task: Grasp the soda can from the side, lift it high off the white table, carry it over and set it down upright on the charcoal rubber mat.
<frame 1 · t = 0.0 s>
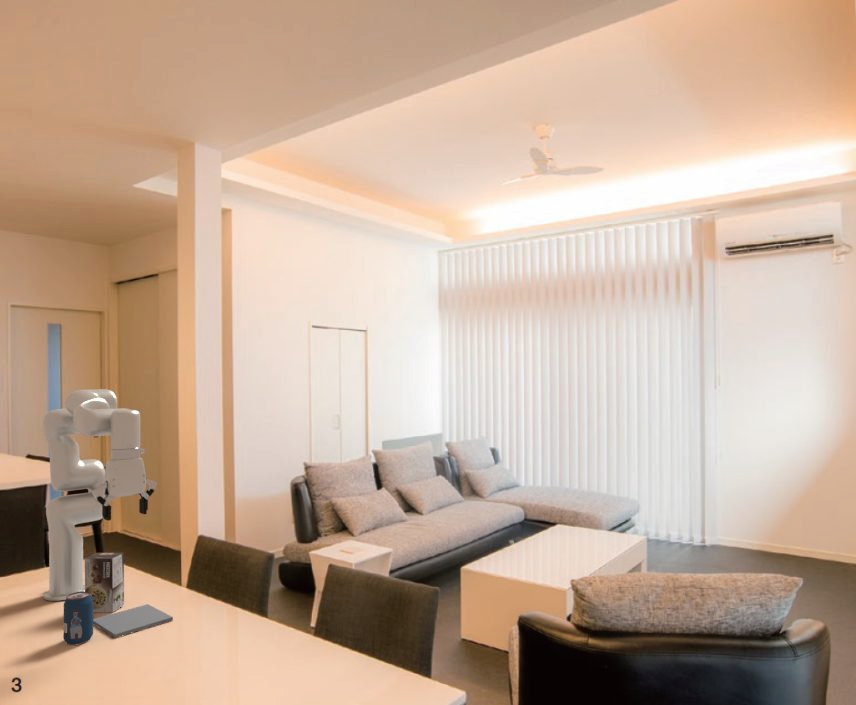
hand: (125, 516, 178), 31 cm above the table, tool pointing down, fingers open, 9 cm apart
mat: (132, 621, 183), on the table
soda can: (78, 641, 171), on the table
coffee box: (104, 609, 194), on the table
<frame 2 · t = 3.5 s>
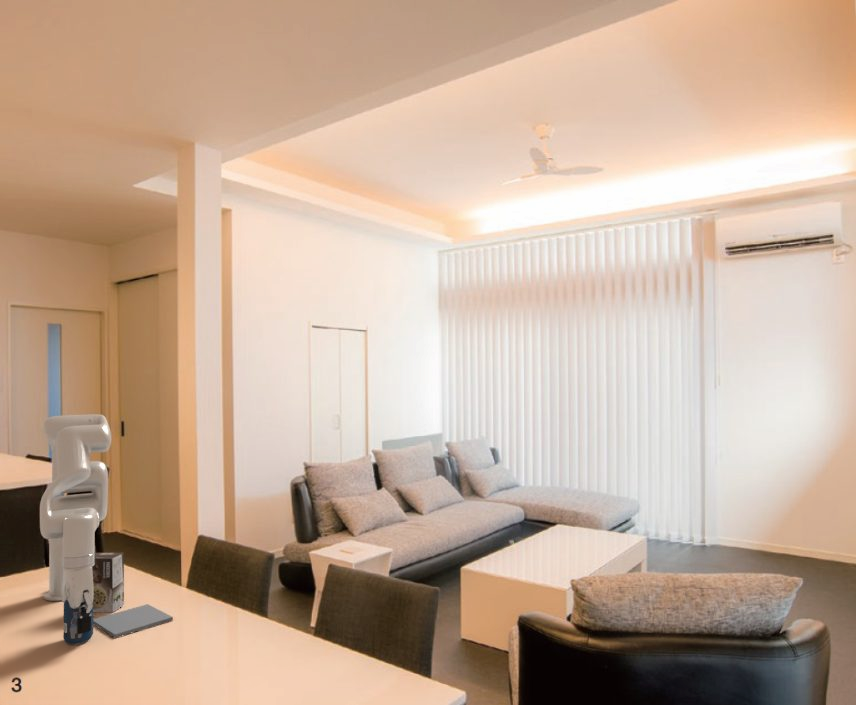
hand: (78, 628, 171), 3 cm above the table, tool pointing down, fingers closed on soda can, 6 cm apart
soda can: (78, 641, 171), on the table, touching gripper
everything else where it was.
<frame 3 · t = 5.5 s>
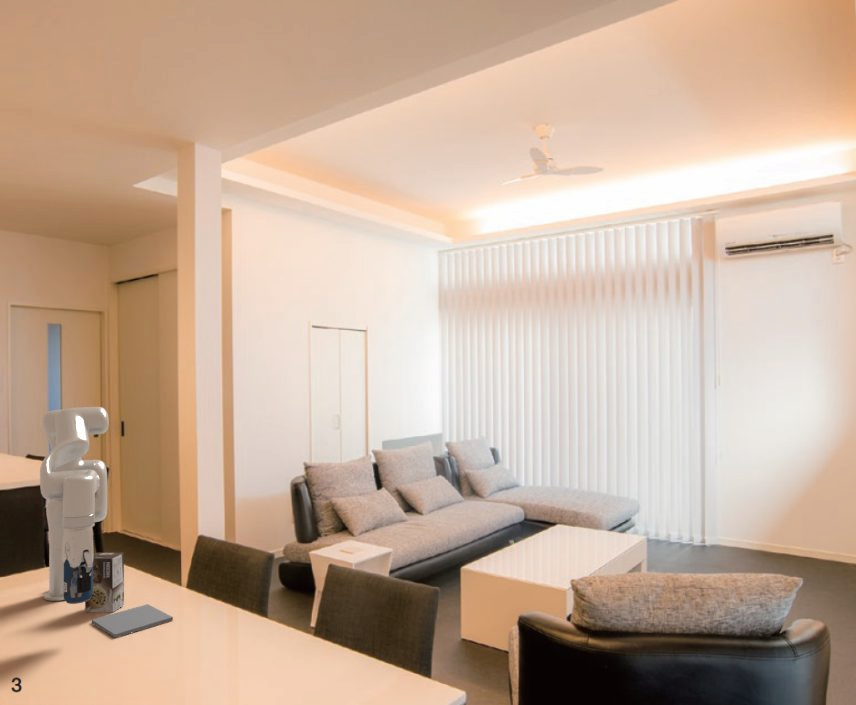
hand: (78, 587, 172), 14 cm above the table, tool pointing down, fingers closed on soda can, 6 cm apart
soda can: (78, 600, 171), point 10 cm above the table, touching gripper
everything else where it was.
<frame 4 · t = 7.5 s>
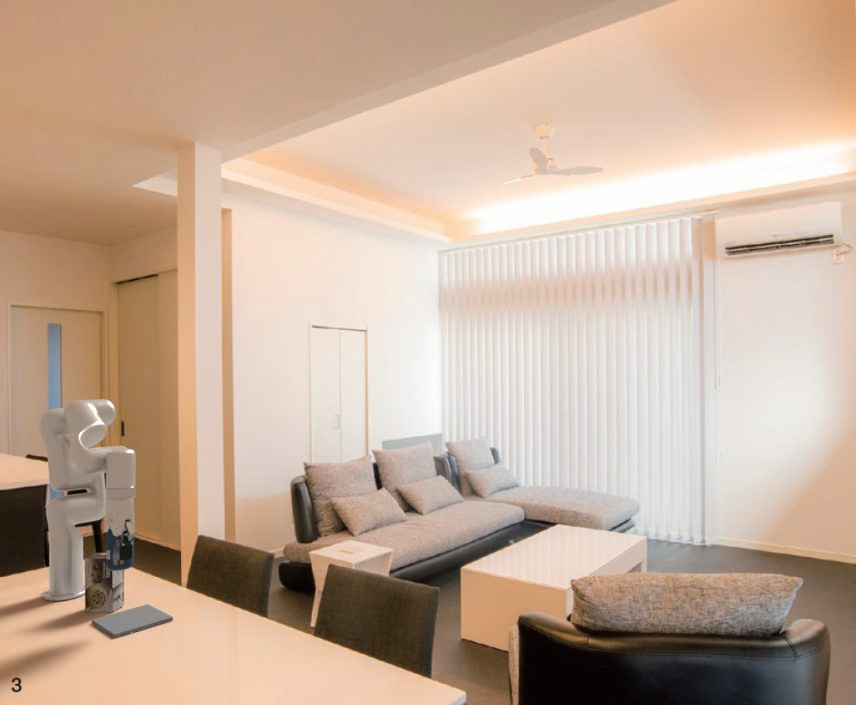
hand: (120, 556, 181), 19 cm above the table, tool pointing down, fingers closed on soda can, 6 cm apart
soda can: (120, 568, 181), point 16 cm above the table, touching gripper
everything else where it was.
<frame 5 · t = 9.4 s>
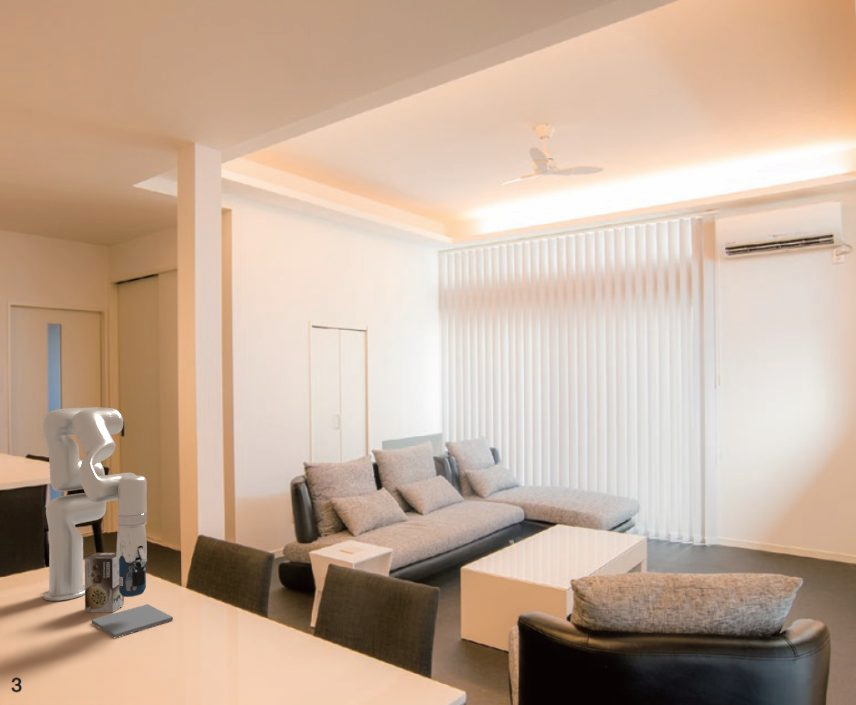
hand: (132, 582, 183), 11 cm above the table, tool pointing down, fingers closed on soda can, 6 cm apart
soda can: (132, 594, 183), point 8 cm above the table, touching gripper
everything else where it was.
when the fingers open (6 cm above the table, at t = 11.4 s): soda can drops 1 cm, resting on mat.
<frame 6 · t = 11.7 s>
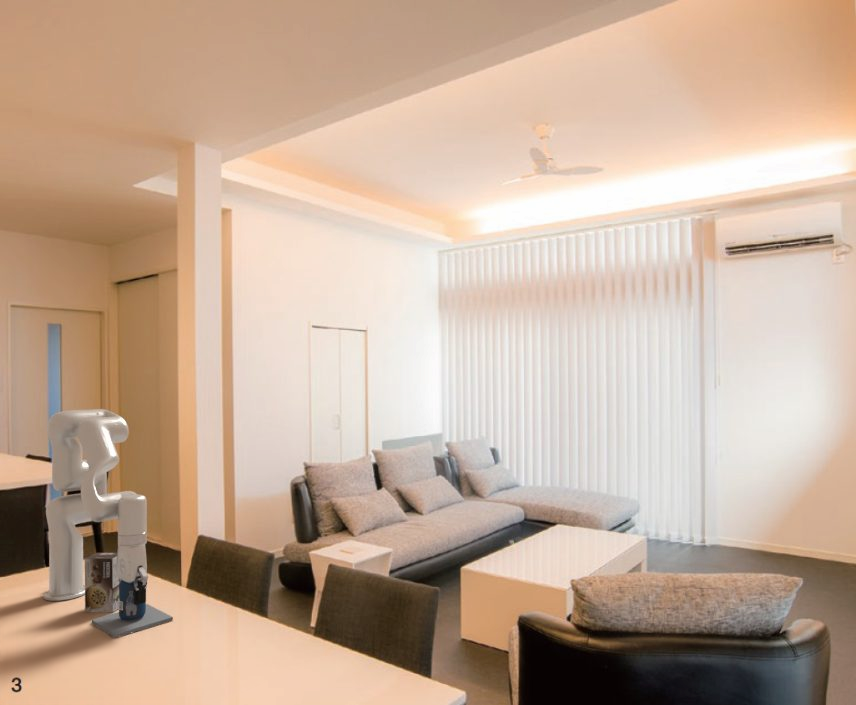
hand: (132, 599, 183), 6 cm above the table, tool pointing down, fingers open, 9 cm apart
soda can: (132, 618, 183), point 1 cm above the table, touching mat
everything else where it was.
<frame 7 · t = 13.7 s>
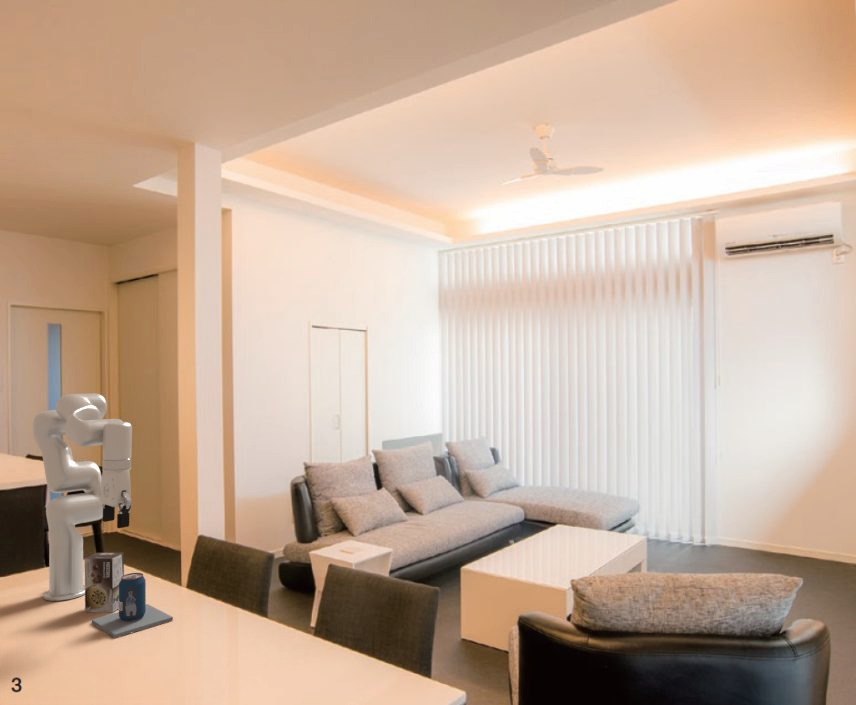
hand: (115, 524, 185), 27 cm above the table, tool pointing down, fingers open, 9 cm apart
nothing on the table moved.
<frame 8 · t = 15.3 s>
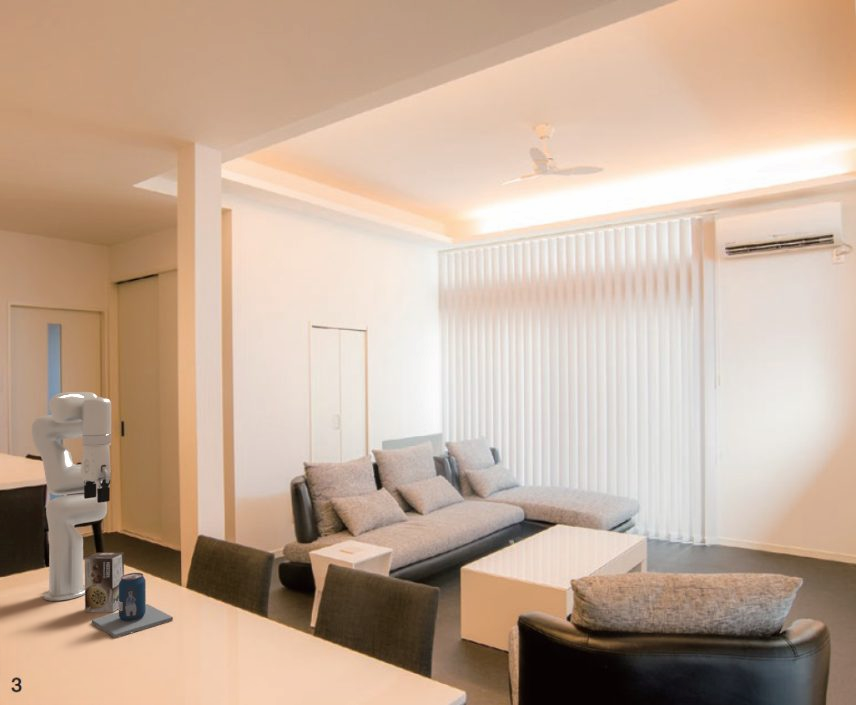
hand: (96, 499, 186), 34 cm above the table, tool pointing down, fingers open, 9 cm apart
nothing on the table moved.
at the end: soda can inside the target area on the mat (0.0 cm from its centre), point 0.8 cm above the mat's base; soda can tilted 0°; the gripper is holding nothing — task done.
